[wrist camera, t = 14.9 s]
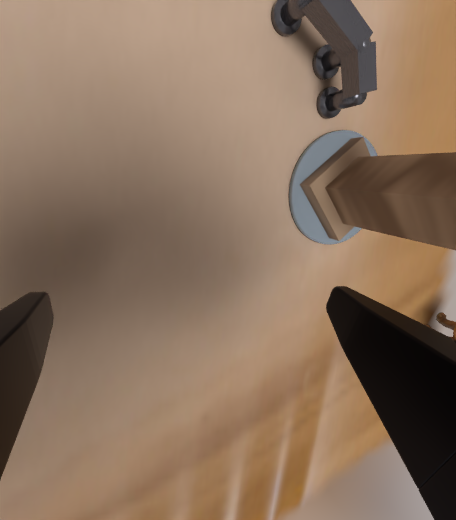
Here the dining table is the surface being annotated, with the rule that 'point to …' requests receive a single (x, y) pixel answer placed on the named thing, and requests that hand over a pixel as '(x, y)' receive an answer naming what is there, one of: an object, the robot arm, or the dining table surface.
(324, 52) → the dark grey legged piece
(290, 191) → the mat
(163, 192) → the dining table surface
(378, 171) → the square column on plinth
